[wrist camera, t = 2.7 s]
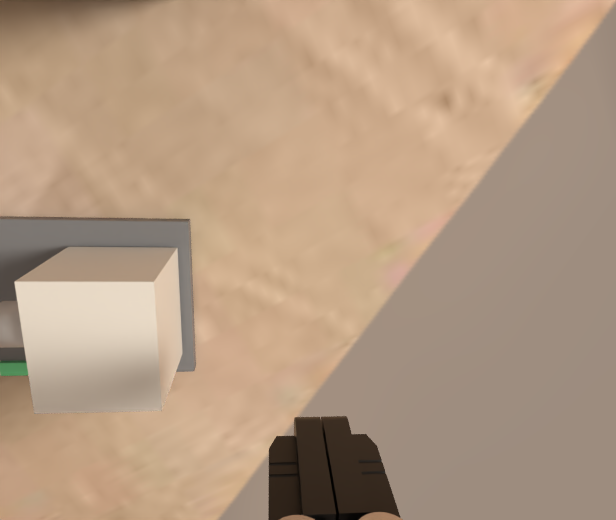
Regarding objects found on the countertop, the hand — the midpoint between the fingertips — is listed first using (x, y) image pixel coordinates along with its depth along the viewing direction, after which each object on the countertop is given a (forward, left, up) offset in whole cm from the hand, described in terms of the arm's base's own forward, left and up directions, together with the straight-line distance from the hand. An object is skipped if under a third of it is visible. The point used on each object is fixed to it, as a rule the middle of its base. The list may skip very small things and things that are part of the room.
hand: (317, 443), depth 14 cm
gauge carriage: (-9, -1, -11) cm, 14 cm away
